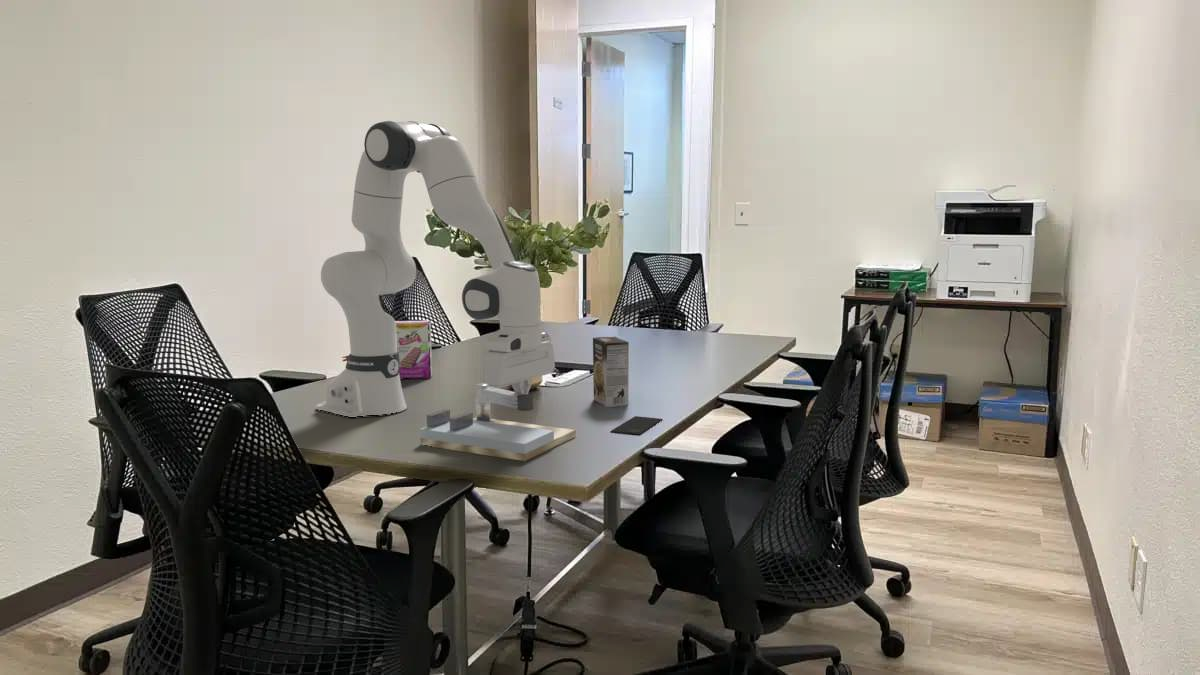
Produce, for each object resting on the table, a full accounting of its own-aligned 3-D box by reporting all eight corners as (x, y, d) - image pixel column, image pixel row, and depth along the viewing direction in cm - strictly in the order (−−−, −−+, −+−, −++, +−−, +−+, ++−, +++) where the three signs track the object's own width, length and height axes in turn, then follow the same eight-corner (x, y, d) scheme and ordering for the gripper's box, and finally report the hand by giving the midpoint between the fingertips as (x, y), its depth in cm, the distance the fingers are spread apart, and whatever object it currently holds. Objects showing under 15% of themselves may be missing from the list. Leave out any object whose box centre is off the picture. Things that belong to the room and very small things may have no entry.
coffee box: (592, 399, 226) (591, 337, 223) (615, 397, 228) (615, 335, 226) (605, 407, 217) (604, 342, 215) (629, 405, 220) (629, 341, 217)
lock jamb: (420, 445, 186) (419, 417, 185) (477, 423, 203) (476, 397, 202) (525, 461, 174) (524, 431, 173) (575, 436, 191) (575, 409, 190)
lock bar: (473, 420, 198) (471, 384, 197) (485, 418, 201) (483, 382, 199) (525, 435, 186) (524, 396, 185) (537, 431, 188) (536, 394, 187)
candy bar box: (392, 380, 253) (389, 323, 250) (394, 376, 258) (391, 320, 255) (431, 378, 254) (429, 322, 252) (433, 375, 259) (430, 319, 257)
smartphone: (633, 418, 208) (609, 434, 194) (633, 415, 208) (609, 430, 194) (663, 421, 205) (641, 437, 191) (663, 417, 205) (641, 433, 191)
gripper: (538, 330, 200) (539, 389, 203) (478, 343, 183) (480, 408, 186) (561, 332, 197) (561, 393, 199) (502, 345, 180) (504, 411, 182)
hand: (522, 400), depth 192 cm, fingers closed
